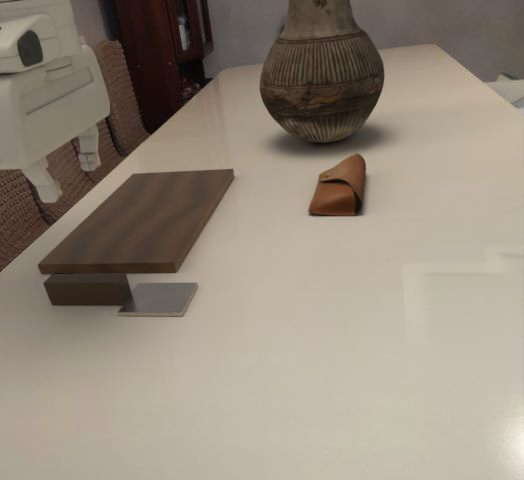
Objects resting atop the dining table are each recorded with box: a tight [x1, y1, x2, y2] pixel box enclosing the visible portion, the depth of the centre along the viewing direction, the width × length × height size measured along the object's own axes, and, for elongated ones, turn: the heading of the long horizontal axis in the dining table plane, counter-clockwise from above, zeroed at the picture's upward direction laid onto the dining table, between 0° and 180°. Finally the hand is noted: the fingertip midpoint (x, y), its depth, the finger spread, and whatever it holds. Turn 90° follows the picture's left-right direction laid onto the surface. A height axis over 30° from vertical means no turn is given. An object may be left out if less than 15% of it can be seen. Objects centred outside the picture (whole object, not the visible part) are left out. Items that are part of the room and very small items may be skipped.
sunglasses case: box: [307, 152, 367, 217], centre depth 86 cm, size 18×7×7 cm
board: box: [37, 168, 235, 275], centre depth 87 cm, size 20×37×2 cm, turn 170°
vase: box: [259, 0, 385, 144], centre depth 103 cm, size 25×25×30 cm
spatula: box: [42, 273, 199, 317], centre depth 65 cm, size 18×7×3 cm, turn 80°
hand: (73, 183), depth 57 cm, fingers open, 8 cm apart
